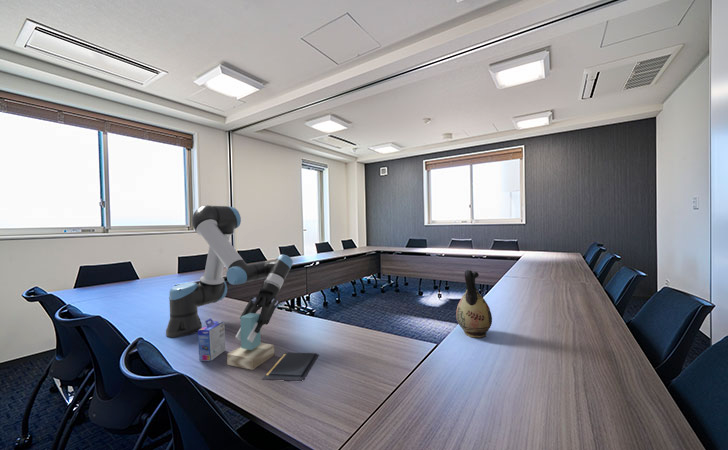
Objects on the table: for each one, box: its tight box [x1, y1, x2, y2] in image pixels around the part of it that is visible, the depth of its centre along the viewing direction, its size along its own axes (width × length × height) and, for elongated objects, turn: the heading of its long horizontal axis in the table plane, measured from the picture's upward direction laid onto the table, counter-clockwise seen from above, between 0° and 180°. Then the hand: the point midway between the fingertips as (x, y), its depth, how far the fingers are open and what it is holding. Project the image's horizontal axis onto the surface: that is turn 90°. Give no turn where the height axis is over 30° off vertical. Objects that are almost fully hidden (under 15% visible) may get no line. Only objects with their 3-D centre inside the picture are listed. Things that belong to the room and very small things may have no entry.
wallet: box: [261, 351, 320, 382], centre depth 103 cm, size 20×2×15 cm
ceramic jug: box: [455, 269, 493, 338], centre depth 128 cm, size 17×15×30 cm
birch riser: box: [226, 342, 275, 370], centre depth 108 cm, size 12×12×4 cm
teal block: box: [239, 313, 262, 350], centre depth 108 cm, size 5×5×12 cm
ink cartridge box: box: [197, 317, 227, 362], centre depth 113 cm, size 10×6×14 cm, turn 174°
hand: (243, 339), depth 105 cm, fingers closed on teal block, 5 cm apart
